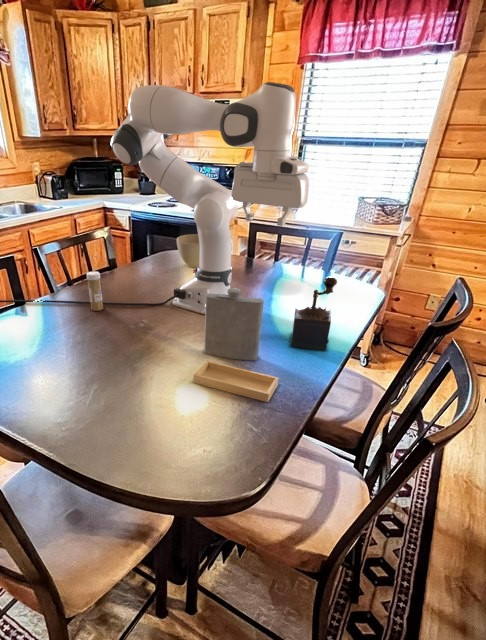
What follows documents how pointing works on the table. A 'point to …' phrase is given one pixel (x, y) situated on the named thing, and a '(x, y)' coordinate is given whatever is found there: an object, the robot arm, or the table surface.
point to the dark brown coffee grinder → (313, 322)
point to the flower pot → (189, 249)
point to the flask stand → (236, 380)
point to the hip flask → (233, 325)
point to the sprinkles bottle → (95, 290)
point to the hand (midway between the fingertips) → (264, 223)
